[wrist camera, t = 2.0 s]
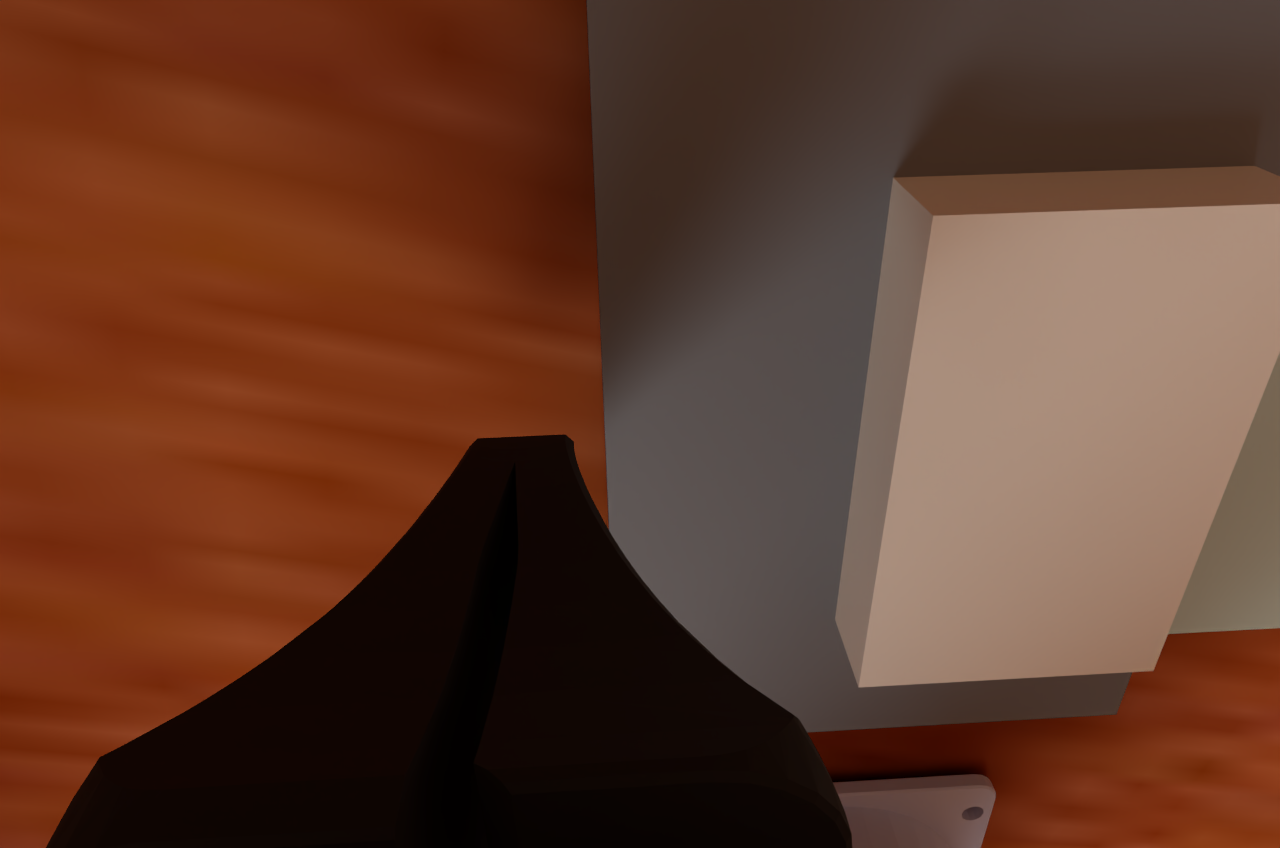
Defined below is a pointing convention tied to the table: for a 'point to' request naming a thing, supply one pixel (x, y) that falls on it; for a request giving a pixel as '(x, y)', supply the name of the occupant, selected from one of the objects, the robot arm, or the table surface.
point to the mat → (1242, 537)
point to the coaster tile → (1052, 415)
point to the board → (841, 271)
